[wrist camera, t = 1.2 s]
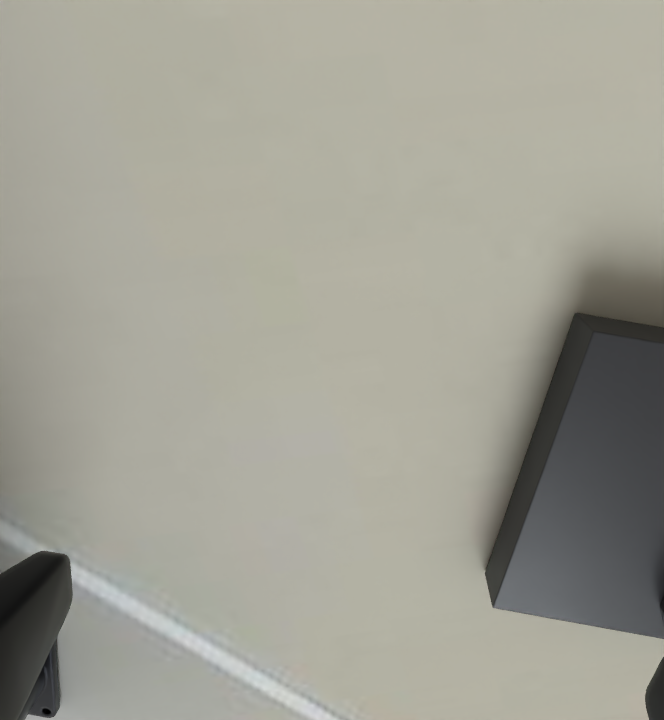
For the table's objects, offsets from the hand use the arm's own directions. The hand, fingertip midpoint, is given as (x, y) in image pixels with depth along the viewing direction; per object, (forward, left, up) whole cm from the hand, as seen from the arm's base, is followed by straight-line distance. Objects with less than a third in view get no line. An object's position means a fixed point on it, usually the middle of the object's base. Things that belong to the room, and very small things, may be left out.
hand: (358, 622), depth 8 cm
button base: (-4, -12, -13) cm, 18 cm away
